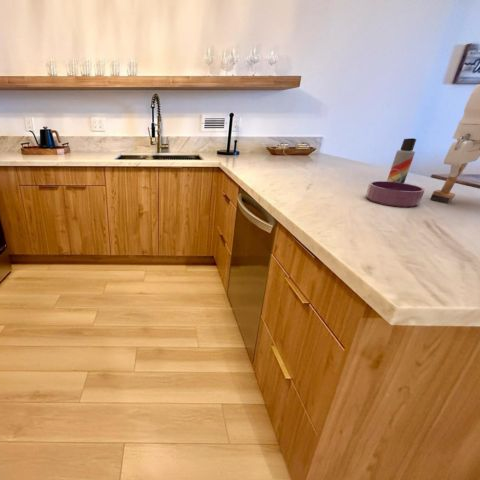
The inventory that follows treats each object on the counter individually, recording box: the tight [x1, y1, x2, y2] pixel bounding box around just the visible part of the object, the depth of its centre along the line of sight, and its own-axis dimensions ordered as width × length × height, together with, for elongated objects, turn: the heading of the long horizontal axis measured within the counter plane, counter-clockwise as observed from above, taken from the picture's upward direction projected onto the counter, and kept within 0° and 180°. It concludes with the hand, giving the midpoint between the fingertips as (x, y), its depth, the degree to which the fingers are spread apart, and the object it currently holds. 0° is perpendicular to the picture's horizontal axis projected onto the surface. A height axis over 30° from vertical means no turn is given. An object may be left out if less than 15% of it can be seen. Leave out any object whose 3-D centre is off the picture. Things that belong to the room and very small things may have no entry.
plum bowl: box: [365, 180, 425, 208], centre depth 102 cm, size 15×15×6 cm
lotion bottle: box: [386, 137, 417, 183], centre depth 115 cm, size 6×6×20 cm
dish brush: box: [429, 164, 465, 204], centre depth 100 cm, size 5×4×13 cm
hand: (454, 176), depth 99 cm, fingers closed on dish brush, 2 cm apart
